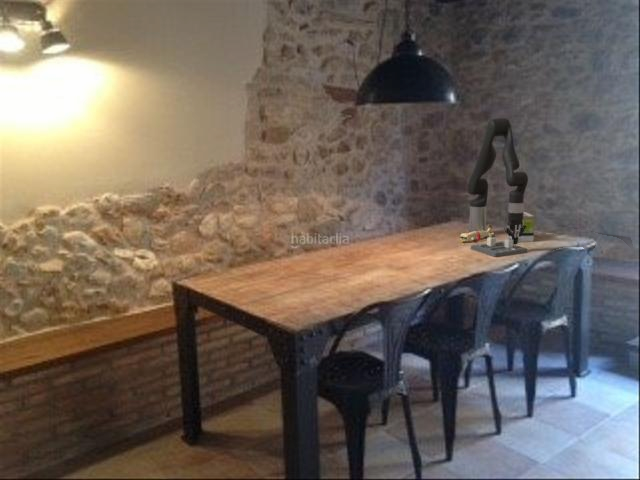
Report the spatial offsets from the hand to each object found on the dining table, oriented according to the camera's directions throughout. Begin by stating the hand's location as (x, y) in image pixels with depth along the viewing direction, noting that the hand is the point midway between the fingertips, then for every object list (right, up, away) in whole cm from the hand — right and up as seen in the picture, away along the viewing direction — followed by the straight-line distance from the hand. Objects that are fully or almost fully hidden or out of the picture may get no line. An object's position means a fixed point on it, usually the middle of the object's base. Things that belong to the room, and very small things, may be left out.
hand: (514, 244), depth 300 cm
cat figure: (-12, +2, +30) cm, 32 cm away
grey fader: (-3, -2, -1) cm, 4 cm away
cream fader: (-11, -1, +5) cm, 12 cm away
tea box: (+12, +2, +27) cm, 29 cm away
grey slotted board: (-8, -3, +2) cm, 9 cm away
